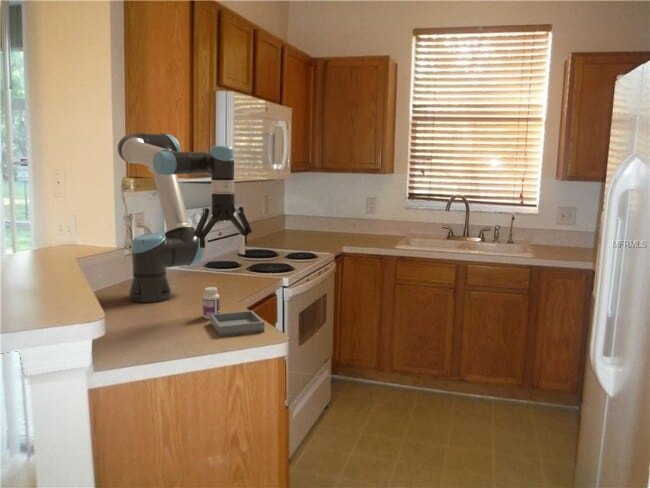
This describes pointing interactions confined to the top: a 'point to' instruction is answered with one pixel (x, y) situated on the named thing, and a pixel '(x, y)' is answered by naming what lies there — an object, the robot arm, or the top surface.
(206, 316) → the pill bottle
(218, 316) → the bin
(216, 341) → the top surface
